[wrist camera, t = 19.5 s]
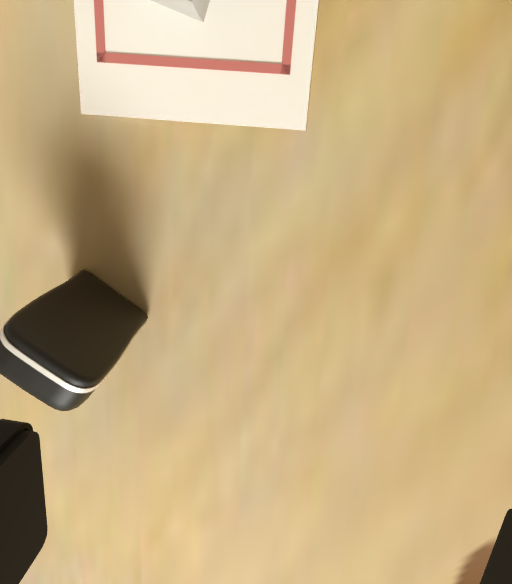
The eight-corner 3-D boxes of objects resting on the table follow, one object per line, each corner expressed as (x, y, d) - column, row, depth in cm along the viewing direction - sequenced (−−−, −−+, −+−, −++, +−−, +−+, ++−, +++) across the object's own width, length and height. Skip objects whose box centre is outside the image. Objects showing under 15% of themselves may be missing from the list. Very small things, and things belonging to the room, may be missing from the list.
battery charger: (60, 298, 38) (-33, 366, 27) (82, 264, 37) (-7, 322, 26) (129, 346, 39) (65, 431, 28) (153, 316, 38) (95, 391, 27)
